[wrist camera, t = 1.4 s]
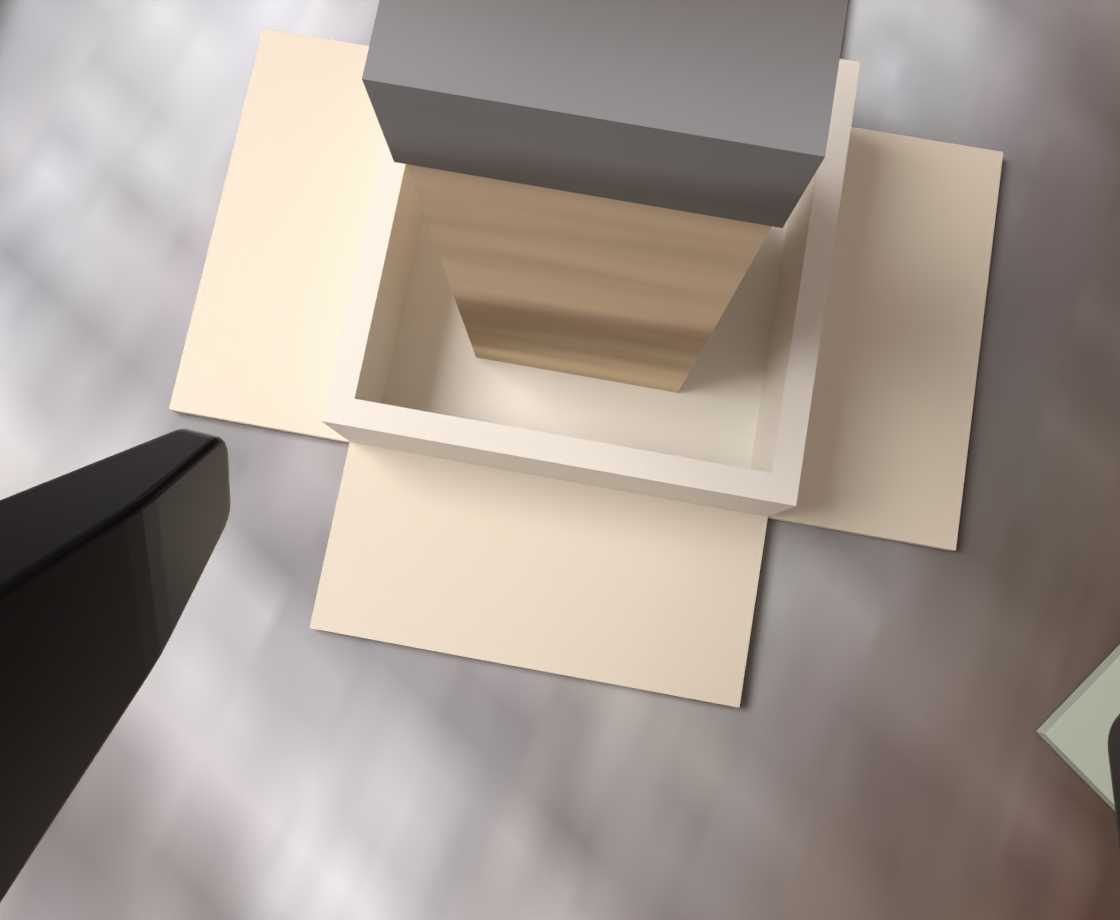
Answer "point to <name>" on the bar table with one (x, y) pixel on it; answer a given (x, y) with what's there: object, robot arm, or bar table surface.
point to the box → (603, 162)
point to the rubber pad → (1088, 726)
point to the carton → (587, 395)
